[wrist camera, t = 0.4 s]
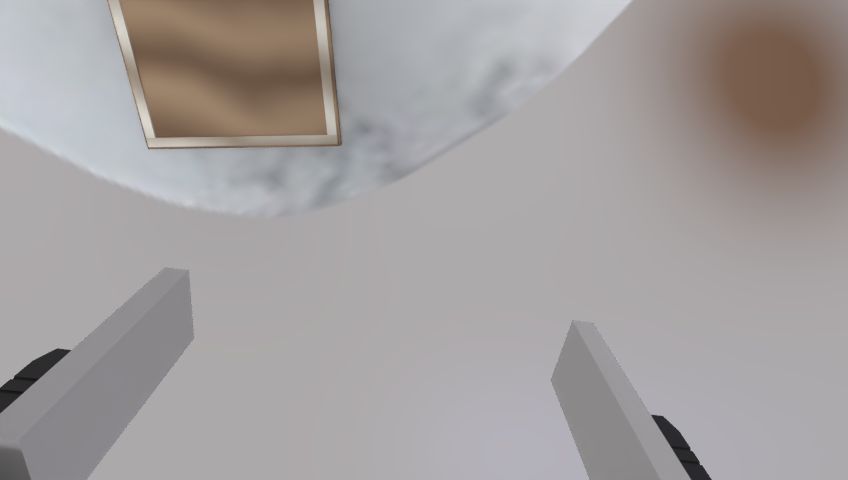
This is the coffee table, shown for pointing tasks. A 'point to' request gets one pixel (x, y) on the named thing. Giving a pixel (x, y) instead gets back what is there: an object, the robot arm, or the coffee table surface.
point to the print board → (230, 72)
